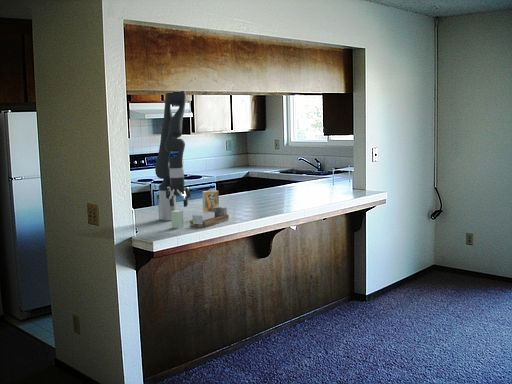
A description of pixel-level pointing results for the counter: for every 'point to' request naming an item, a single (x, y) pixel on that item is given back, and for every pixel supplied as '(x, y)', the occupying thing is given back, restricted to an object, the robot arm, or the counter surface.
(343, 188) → the counter surface
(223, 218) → the channel
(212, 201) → the candy box
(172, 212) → the block
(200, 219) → the jaw
